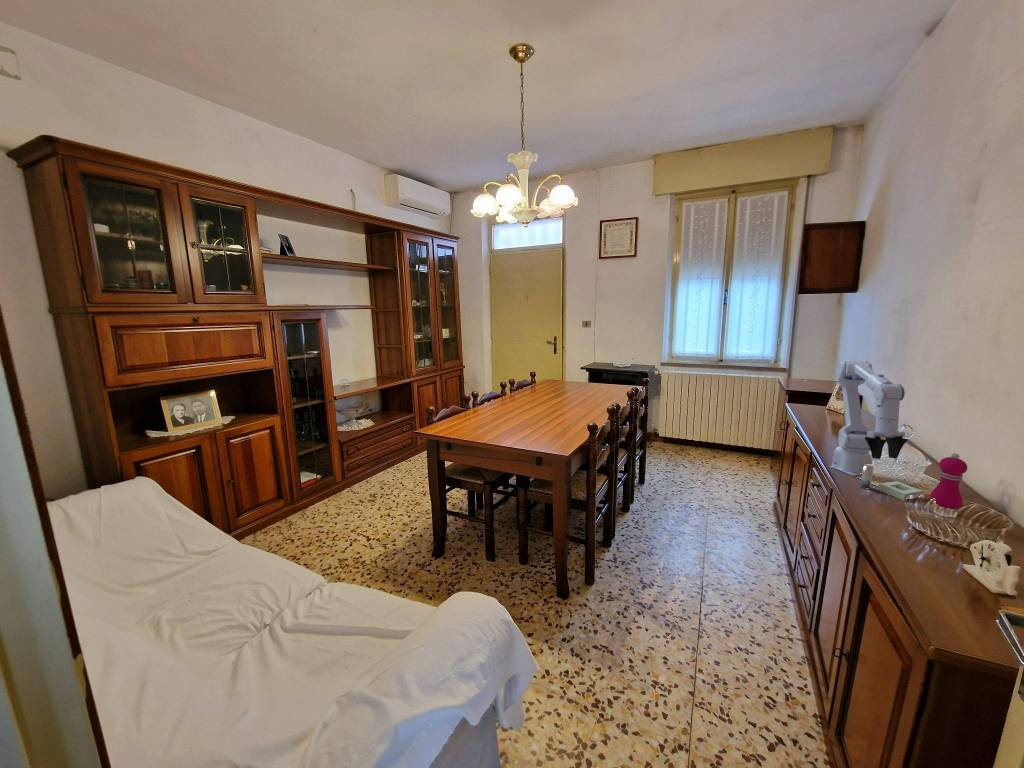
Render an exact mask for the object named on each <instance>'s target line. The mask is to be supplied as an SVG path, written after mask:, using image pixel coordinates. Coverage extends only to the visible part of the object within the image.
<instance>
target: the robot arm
mask: <svg viewBox="0 0 1024 768" xmlns="http://www.w3.org/2000/svg"><path fill="white" fill-rule="evenodd" d="M835 373H836V382H837V383H838V384H839V385H841V391H842V399H843V406H844V408H843V409H844V416H845V423H846V425H845V426H843V427H842V428H840V429H839V430H838V438H837V439H838V440H837V441H838V446H837V447H836V448H835V449H834V451H833V457H832V464H831V465H830V468H832V469H835V470H838V471H840V472H843V473H845V474H847V475H849V476H853V477H856V475H857V476H860V475H859V474H860V473H862V471H863V465H866V459H867V453H871V458H872V459H875V460H881V457H882V453H883V450H884V446H885V444H886V443H887V450H888V451H887V452H888V453H887V454H888V455H887V456H888V458H890V459H895V460H897V459H898V457H899V455H900V452H901V450H902V448H903V447H904V445H905V444H906V443H907V442H908V438H906V432H905V431H901V430H900V431H899V418H900V402H901V401H903V399H904V398H905V394H906V392H905V387H904V386H903V384H902V383H893V382H892V381H891V380H889V379H888V378H887V377H885V376H884V374H882V373H875V371H874V370H873V366H872V363H871V362H870V361H855V360H854V361H849V360H847V361H846V360H840V361H839V362H837V365H836V367H835ZM863 384H865V385H866V386H867V387H868V388H869V389H870V390H871V391H873V397H874V404H875V405H876V411H875V412H876V414H875V415H876V416H875V427H874V430H871V428H869V427H867V426H865V425H864V422H863V414H862V408H861V402H860V395H859V386H860V385H863ZM882 438H884V439H882Z"/></svg>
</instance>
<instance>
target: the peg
mask: <svg viewBox="0 0 1024 768" xmlns="http://www.w3.org/2000/svg"><path fill="white" fill-rule="evenodd" d="M874 469H875V467H874V466H872V465H868V464H865V465H863V471H862V475H861V479H860V485H859V487H860V486H861V487H863V488H862V489H864V488H870V489H871V485H872V480H873V475H874V474H873V473H874ZM861 487H860V488H861Z"/></svg>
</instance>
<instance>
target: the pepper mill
mask: <svg viewBox="0 0 1024 768" xmlns="http://www.w3.org/2000/svg"><path fill="white" fill-rule="evenodd" d="M938 466H939V468H940V470H939V476H940V479H939V480H940V481H939V482H938V484H937V485H936V487H935V488H934V489H933V490H931V492H930V494H929V500H930V499H933V498H935V499H936V500H935V501H936V504H938V505H939V506H941V507H944V508H950V509H956V508H958V509H960V508H961V507H963V497H962V494H961V492H960V482H961V481H962V480H963V477H964V475H963V474H965V473H966V472H967V471H968V465H967V462H965V461H964V460H962V459H960V455H959V453H955V452H954V453H951V455H950V456H948V457H947V456H946V457H944V458H942V459H940V461H939V463H938Z"/></svg>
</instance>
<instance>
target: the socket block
mask: <svg viewBox="0 0 1024 768" xmlns="http://www.w3.org/2000/svg"><path fill="white" fill-rule="evenodd" d="M877 490H878V491H879V490H880V492H881V491H883V492H882V493H884V492H885V493H884V494H886V493H887V494H886V495H889V496H891V495H892V496H891V497H893V496H894V498H896V499H899V500H901V501H903V502H905V501H907V500H906V498H907V497H908V496H909V495H916V494H922V495H923V493H924V490H921V489H919V488H916V487H913V486H912V485H911V486H910V485H907V484H906V483H903V482H901V481H898V480H894V481H889V482H882V483H879V484H878V489H877Z"/></svg>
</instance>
